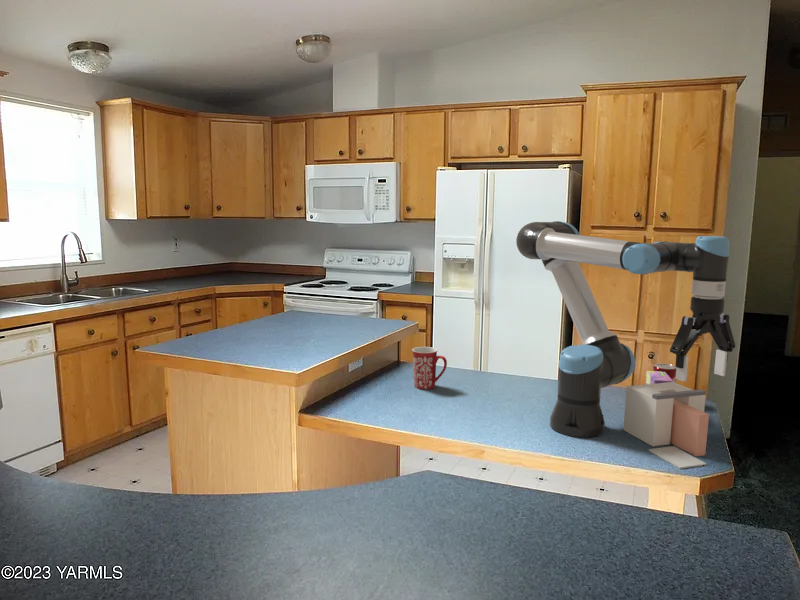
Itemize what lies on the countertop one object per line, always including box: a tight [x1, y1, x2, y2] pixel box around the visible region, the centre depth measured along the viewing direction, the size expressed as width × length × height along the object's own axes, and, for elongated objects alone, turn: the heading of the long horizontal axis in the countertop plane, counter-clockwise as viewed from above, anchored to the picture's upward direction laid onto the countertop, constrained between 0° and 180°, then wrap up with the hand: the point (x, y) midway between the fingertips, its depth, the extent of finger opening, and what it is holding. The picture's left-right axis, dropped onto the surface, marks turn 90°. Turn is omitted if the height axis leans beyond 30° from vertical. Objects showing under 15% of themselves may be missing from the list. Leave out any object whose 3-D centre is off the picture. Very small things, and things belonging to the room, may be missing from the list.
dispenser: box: [623, 382, 707, 447], centre depth 158 cm, size 16×12×14 cm
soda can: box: [652, 362, 678, 383], centre depth 187 cm, size 7×7×12 cm
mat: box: [648, 445, 707, 470], centre depth 144 cm, size 8×11×1 cm
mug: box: [411, 346, 448, 390], centre depth 199 cm, size 13×9×14 cm
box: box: [645, 370, 674, 384], centre depth 177 cm, size 10×6×12 cm, turn 168°
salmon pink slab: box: [670, 399, 710, 457], centre depth 151 cm, size 3×12×11 cm, turn 16°
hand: (700, 377), depth 148 cm, fingers open, 13 cm apart
